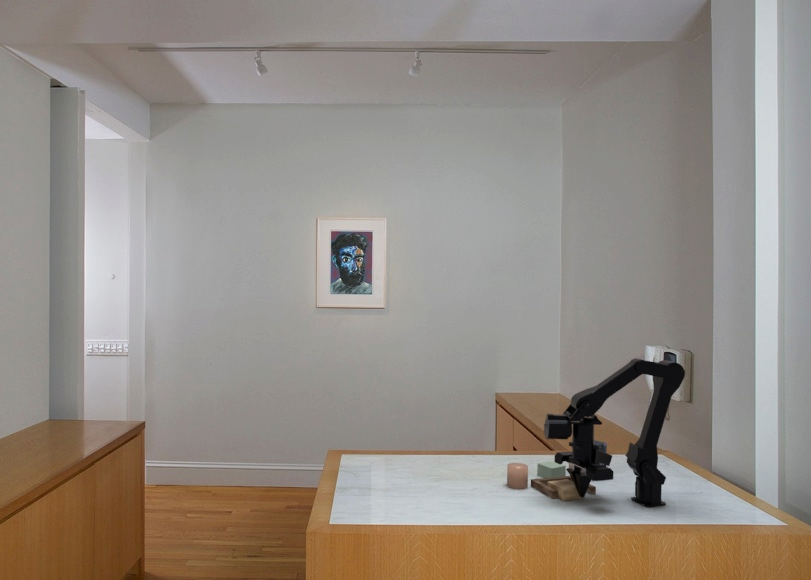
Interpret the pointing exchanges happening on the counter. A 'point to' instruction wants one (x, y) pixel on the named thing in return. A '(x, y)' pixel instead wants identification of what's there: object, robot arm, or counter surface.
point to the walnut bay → (545, 489)
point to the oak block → (565, 489)
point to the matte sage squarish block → (550, 469)
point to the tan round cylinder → (517, 476)
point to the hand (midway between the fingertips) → (582, 496)
